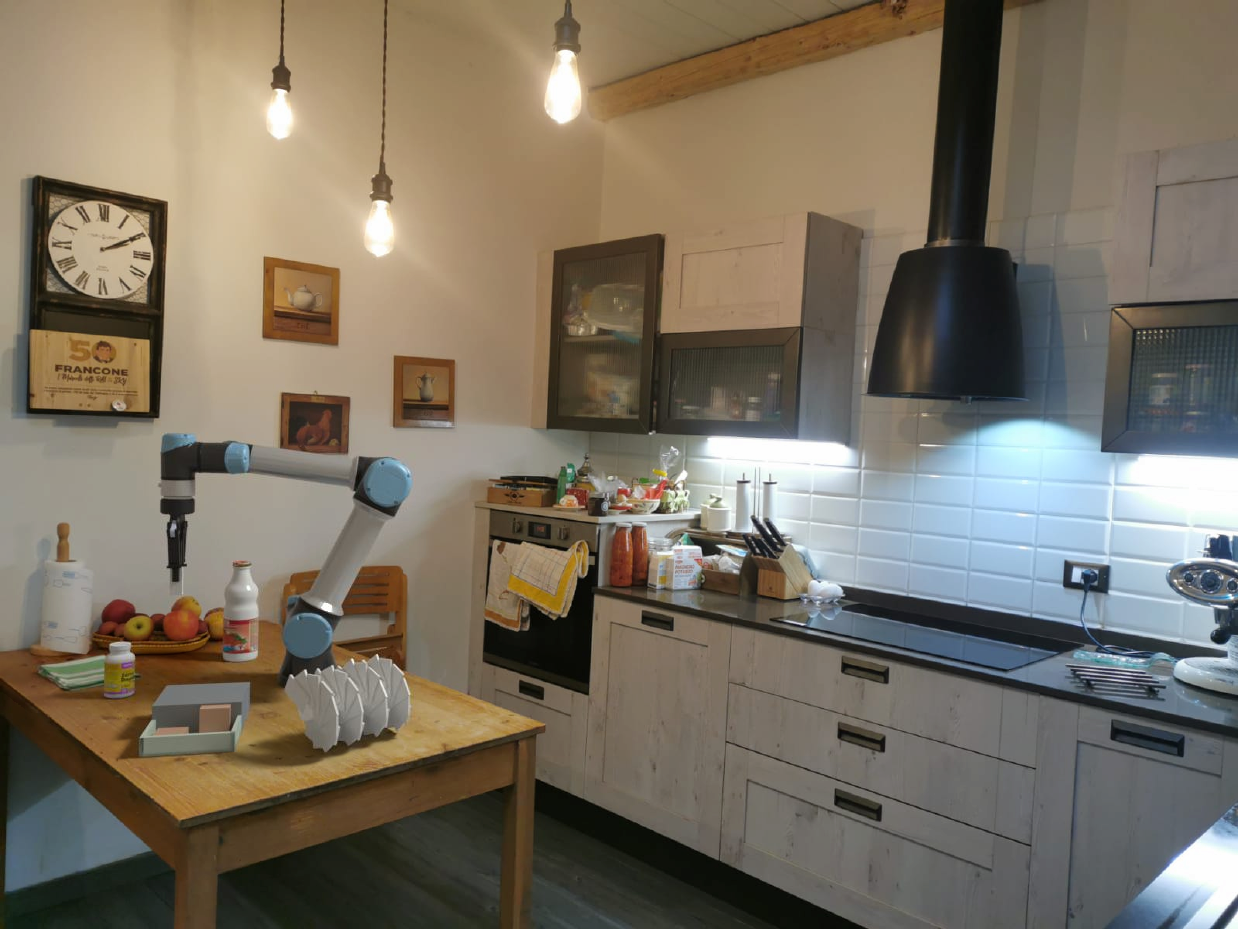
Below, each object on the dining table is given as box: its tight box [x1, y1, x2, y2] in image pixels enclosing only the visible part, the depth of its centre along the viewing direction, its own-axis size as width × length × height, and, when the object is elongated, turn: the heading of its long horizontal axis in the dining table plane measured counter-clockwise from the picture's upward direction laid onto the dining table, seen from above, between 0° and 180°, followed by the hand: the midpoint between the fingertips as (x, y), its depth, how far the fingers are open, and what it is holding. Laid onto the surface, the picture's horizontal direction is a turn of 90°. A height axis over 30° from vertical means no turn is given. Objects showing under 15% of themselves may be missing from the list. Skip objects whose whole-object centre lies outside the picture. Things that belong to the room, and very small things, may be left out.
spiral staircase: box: [283, 653, 413, 753], centre depth 198 cm, size 18×18×25 cm
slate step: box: [151, 681, 251, 733], centre depth 205 cm, size 18×16×7 cm
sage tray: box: [138, 715, 242, 758], centre depth 192 cm, size 18×12×4 cm, turn 106°
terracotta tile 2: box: [152, 727, 189, 736], centre depth 190 cm, size 6×6×2 cm
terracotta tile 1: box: [199, 704, 231, 733], centre depth 197 cm, size 6×6×2 cm
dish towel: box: [37, 654, 143, 692], centre depth 239 cm, size 18×23×3 cm
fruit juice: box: [222, 560, 260, 663], centre depth 260 cm, size 9×9×28 cm
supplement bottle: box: [103, 641, 136, 699], centre depth 223 cm, size 7×7×13 cm
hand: (176, 594), depth 219 cm, fingers closed
